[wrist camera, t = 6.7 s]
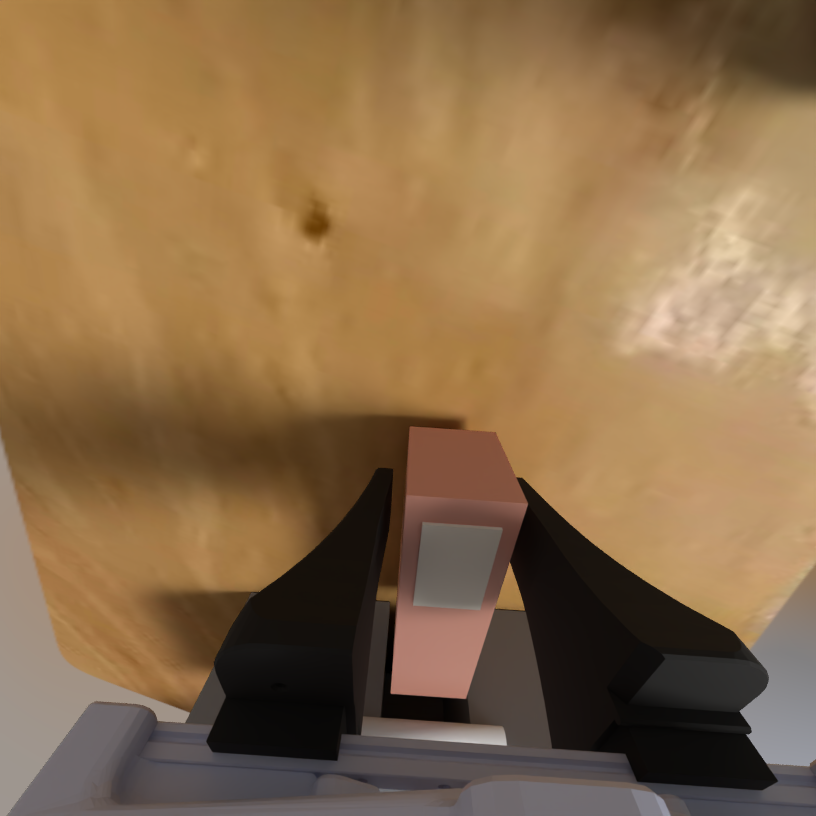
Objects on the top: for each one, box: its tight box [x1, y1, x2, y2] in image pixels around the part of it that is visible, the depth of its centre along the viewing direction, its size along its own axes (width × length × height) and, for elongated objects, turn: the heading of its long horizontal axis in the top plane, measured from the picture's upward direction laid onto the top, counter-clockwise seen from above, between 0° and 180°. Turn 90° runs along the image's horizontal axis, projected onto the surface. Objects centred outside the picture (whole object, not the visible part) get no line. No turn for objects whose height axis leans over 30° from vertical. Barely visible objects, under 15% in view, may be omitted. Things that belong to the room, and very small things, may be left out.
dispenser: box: [186, 592, 552, 792], centre depth 18 cm, size 11×22×6 cm, turn 86°
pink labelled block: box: [391, 426, 528, 699], centre depth 13 cm, size 12×4×4 cm, turn 176°
